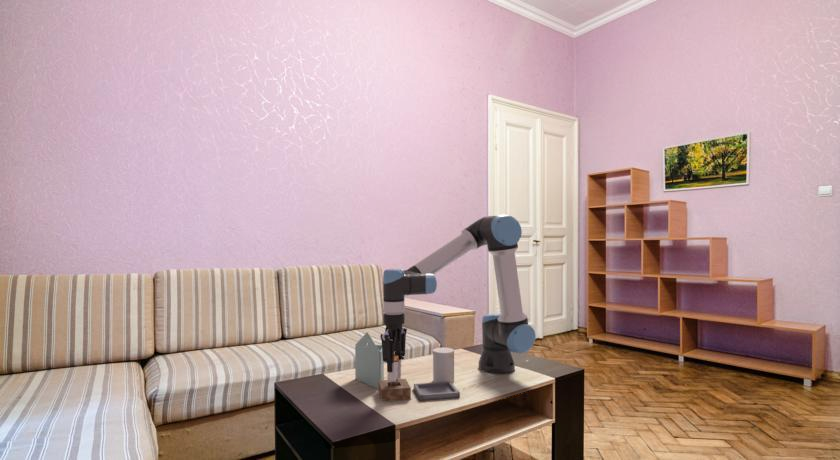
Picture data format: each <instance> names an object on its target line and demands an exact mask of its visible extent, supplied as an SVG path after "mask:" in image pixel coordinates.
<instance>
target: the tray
mask: <svg viewBox="0 0 840 460" xmlns="http://www.w3.org/2000/svg"><path fill="white" fill-rule="evenodd" d="M413 390H414V391H415V394H416V396H417V397H418V399H419V401H420V402H421V401H423V402H424V401H434V400H435V401H436V400H445V399H446V400H449V399H459V398H460V397H461V392H460V391H459V390H458V388H457V387H456V386H455V385H454V383H451V381H447V382H424V383H423V382H422V383H413Z"/></svg>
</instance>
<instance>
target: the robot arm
mask: <svg viewBox="0 0 840 460" xmlns="http://www.w3.org/2000/svg"><path fill="white" fill-rule="evenodd" d="M522 233H523V231H522V226H521V224H520V222H519V220H517V219H516V218H515V217H513V216H512V215H509V214H498V215H497V214H496V215H486V216H484V217H481V218H479V219H478V220H476V221H474V222H473V223H472V224H469V225H468V226H467V227H466V228H464V229H463V230H461V234H459V235H458V236H456V237H455V238H453V239H452V240H451V241H449V242H447V243H445V244H444V245H442V247H439V248H438V249H436V250H435V251H434V252H432V253H430V254H429V255H427V256H426V257H424V258H423V259H421V260H420V261H419V262H417V263H415V264H414V265H412V266H411V267H409V268H408V269H405V270H404V269H402V268H388V269H387V268H386V269H385V270H384V271H383V275H382V276H383V277H382V292H383V294H382V295H383V299H382V300H383V303H382V304H383V305H382V306H383V308H382V309H383V310H382V311H383V324H384V325H385V330H384V331H385V332H384V333H381V334H380V340H381V345H382V355H383V362H384V363H386V373H387V380H388V381H392V382H394V381H395V362H393V361H394V354H397V355H398V366H399V379H402V360H403V361H404V359H405V356H406V343H407V342H406V340H407V339H406V338H407V337H406V335H407V332H408V329H407V328H406V327H405V328H404V327H403V325H404V324H405V317H406V316H405V312H406V310H405V296H417V295H426V296H427V295H431V294H434V293H435V292H436V291H437V285H438V284H437V283H438V281H437V278H436V276H435V274H437V273H439V272H441V270H443V269H445V268H446V267H448V265H449V266H450V265H451V264H452V263H453V262H456V260H458V259H460V258H461V257H462V256H464V255H465V254H467V253H468V252H470V251H472V250H473V251H476V250H477V249H479V248H481V247H483V246H487V251H488V253H490V254H491V255H492V258H493V259H492V260H493V265H494V267H493V268H494V273H495V274H494V275H495V280H496V281H495V282H496V290H497V295H498V303H499V310H500V313H487V314H484V315H483V316H482V318H481V319H482V320H481V325H482V327H481V328H482V329H481V331H482V337H481V338H482V349H481V352H480V353H481V354H480V356H479V360H478V369H479V370H480V371H482V372H485V373H490V374H509V373H513V372H514V371H515V368H516V365H515V361H514V358H513V354H512V353H515V354H525V353H527V352H529V351H530V350H531V349H532V347H533V346H534V344H535V342H536V331H535V330H534V328H533V327H532V326H531V325H529V319H528V315H527V314H526V313H524V311H523V303H522V297H521V289H520V282H519V275H518V267H517V259H516V251H517V250H518V248H519V245H518V243H519V242H520V239H521V237H522Z"/></svg>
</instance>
